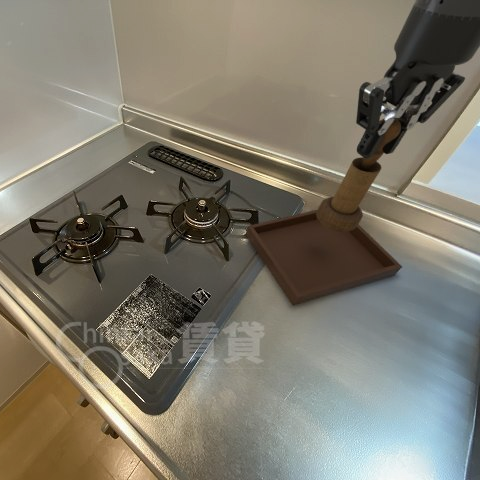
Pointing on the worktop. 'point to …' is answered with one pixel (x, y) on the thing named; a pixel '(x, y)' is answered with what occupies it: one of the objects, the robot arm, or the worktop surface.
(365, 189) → the mortar and pestle
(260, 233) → the tray
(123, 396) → the worktop surface
